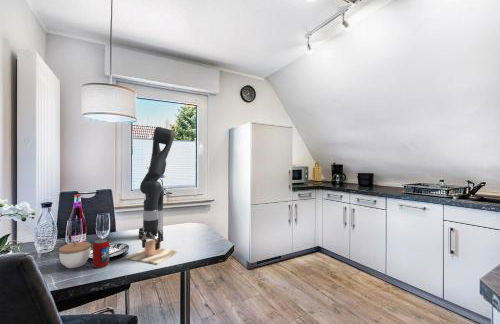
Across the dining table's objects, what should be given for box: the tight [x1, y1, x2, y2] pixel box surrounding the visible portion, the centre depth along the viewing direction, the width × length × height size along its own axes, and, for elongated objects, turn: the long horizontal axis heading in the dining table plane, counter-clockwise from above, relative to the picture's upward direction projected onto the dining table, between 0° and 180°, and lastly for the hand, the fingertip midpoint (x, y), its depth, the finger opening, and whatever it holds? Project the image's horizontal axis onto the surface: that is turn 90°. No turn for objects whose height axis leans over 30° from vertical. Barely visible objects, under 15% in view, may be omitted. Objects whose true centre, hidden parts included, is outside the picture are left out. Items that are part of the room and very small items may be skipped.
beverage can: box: [92, 238, 110, 268], centre depth 116 cm, size 7×7×12 cm
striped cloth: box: [125, 247, 179, 266], centre depth 128 cm, size 20×16×1 cm
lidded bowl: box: [58, 241, 92, 269], centre depth 117 cm, size 13×13×11 cm
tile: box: [144, 238, 161, 257], centre depth 130 cm, size 9×2×7 cm, turn 160°
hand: (150, 248), depth 129 cm, fingers open, 8 cm apart
